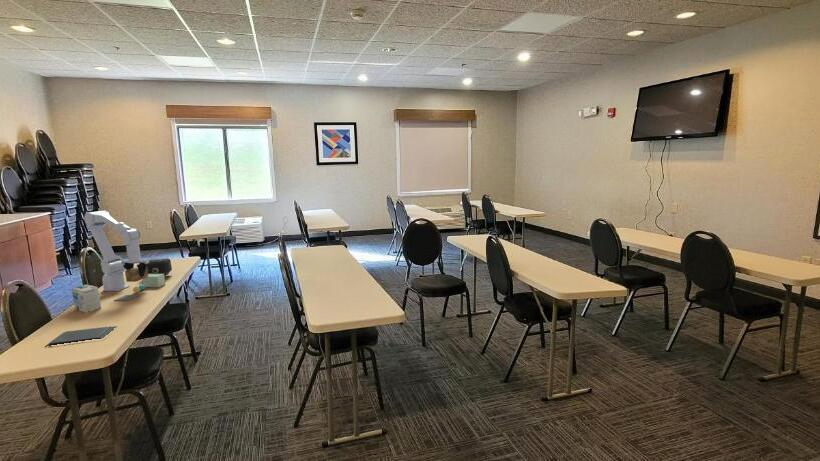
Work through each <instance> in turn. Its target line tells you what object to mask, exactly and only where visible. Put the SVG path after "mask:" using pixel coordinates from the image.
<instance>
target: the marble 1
mask: <svg viewBox="0 0 820 461" xmlns="http://www.w3.org/2000/svg"><path fill="white" fill-rule="evenodd" d="M138 287H139V286H135V287H133V288H132V292H133V293H135V294H136V293H139V292H140V291H141V290H140V289H139V288H138Z"/></svg>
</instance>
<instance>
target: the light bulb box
mask: <svg viewBox="0 0 820 461" xmlns="http://www.w3.org/2000/svg"><path fill="white" fill-rule="evenodd" d="M99 292H100V291H99V287H98V286H94V285H90V284H83V285H79V286H75V287H73V288H72V287H71V293H72V297H73V298H72V299H73V304H74V309H75V310H77V311H79V310H81V311H80V312H82V311H84V312H83V313H85V312H87V313H89V312H88V311H90V312H93V311H92V310H94V311H96V310H95V309H97V310H100V309H99V308H101V309H102V304H101V299H100V293H99Z"/></svg>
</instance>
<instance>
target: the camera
mask: <svg viewBox="0 0 820 461" xmlns="http://www.w3.org/2000/svg"><path fill="white" fill-rule="evenodd" d="M171 261H172V260H171V259H170V258H160V259H158V258H157V259H149V263H148V264H147V272H148V274H164V277H166V276H168V275H169V274H170V272H172V269H173V268H172V262H171Z"/></svg>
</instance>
